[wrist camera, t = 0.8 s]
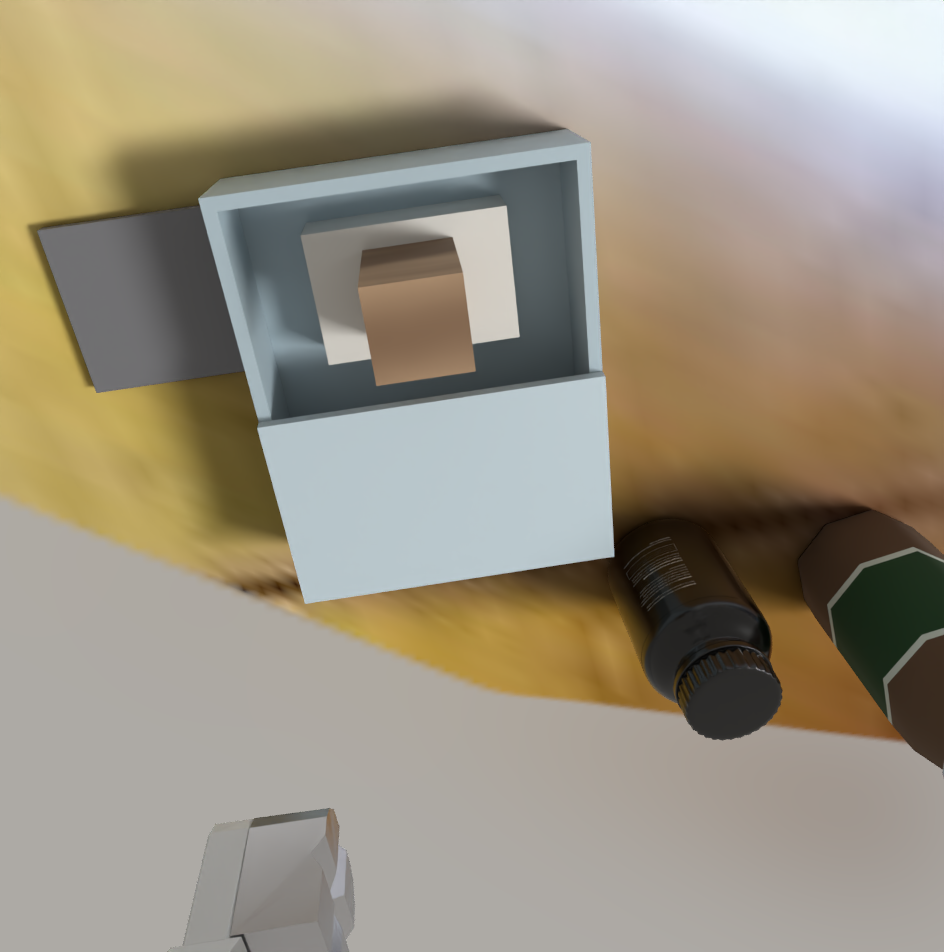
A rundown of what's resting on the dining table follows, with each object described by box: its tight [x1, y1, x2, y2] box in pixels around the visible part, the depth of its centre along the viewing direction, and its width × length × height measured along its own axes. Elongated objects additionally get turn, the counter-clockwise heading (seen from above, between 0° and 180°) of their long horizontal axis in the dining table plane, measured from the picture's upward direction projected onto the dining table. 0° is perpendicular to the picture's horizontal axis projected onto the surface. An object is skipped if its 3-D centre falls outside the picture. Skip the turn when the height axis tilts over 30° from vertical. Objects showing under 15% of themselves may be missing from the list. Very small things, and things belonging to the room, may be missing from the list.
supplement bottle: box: [608, 519, 782, 740], centre depth 45 cm, size 7×7×12 cm
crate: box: [198, 129, 614, 604], centre depth 41 cm, size 20×16×6 cm
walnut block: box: [358, 237, 476, 386], centre depth 35 cm, size 4×4×6 cm
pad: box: [37, 205, 245, 393], centre depth 40 cm, size 8×8×1 cm
